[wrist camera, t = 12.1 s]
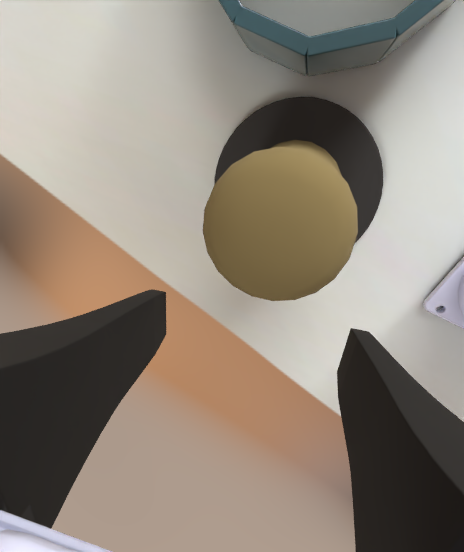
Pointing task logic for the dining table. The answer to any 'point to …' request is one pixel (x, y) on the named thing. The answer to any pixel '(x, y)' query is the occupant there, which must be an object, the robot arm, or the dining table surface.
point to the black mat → (323, 132)
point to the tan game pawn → (281, 221)
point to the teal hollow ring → (330, 38)
